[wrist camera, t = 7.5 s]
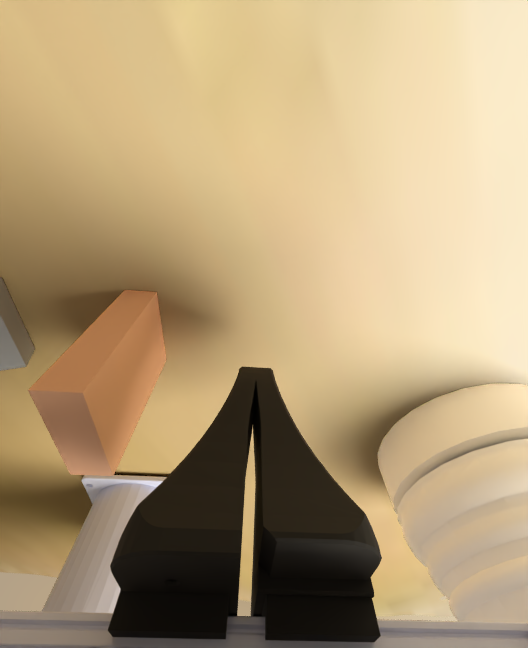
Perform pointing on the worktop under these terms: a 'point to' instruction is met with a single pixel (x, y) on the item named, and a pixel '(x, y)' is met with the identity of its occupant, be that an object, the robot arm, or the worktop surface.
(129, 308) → the tile
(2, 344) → the domino
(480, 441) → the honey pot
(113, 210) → the worktop surface
